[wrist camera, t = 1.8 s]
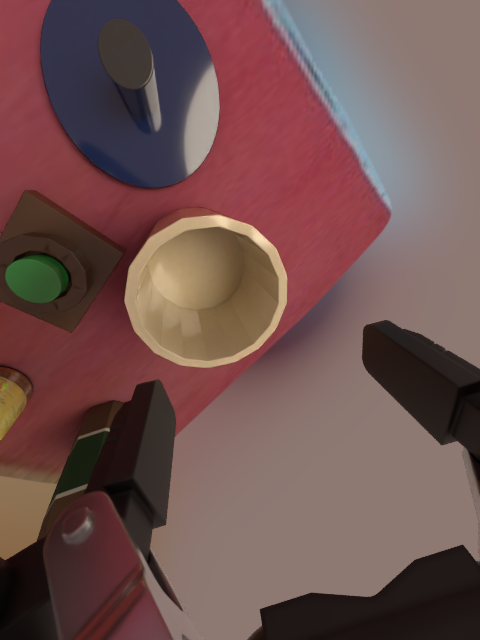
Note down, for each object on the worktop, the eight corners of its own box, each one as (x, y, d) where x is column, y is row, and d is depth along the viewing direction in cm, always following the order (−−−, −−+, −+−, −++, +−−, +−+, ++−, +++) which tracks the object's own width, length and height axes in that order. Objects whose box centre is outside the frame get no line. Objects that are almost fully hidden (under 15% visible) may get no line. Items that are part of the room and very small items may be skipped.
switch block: (-15, 283, 22) (-44, 297, 19) (35, 190, 20) (11, 189, 17) (77, 325, 26) (64, 342, 23) (126, 250, 24) (120, 258, 21)
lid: (15, 101, 18) (-67, 51, 12) (102, -86, 15) (55, -276, 9) (165, 218, 23) (162, 226, 17) (246, 98, 21) (277, 58, 15)
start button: (9, 280, 20) (-4, 287, 18) (29, 244, 19) (17, 249, 18) (57, 303, 22) (48, 311, 20) (76, 271, 21) (69, 277, 19)
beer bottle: (146, 397, 33) (102, 752, 12) (144, 437, 36) (107, 772, 15) (79, 399, 30) (-121, 847, 9) (83, 442, 33) (-59, 847, 13)
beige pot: (120, 276, 25) (91, 323, 16) (185, 179, 22) (194, 170, 13) (208, 328, 30) (224, 386, 21) (268, 255, 28) (315, 285, 19)
